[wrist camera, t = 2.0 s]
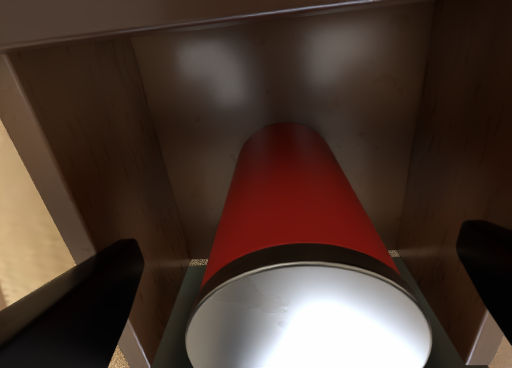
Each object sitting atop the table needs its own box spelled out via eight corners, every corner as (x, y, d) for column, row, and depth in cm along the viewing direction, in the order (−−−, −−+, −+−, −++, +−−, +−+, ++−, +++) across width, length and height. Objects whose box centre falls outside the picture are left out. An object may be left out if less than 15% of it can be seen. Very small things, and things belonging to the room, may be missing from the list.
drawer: (401, 321, 18) (470, 470, 12) (193, 326, 19) (156, 463, 13) (484, -97, 9) (984, -423, 3) (81, -37, 10) (-222, -161, 4)
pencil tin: (334, 209, 13) (413, 418, 6) (242, 214, 13) (208, 416, 6) (336, 116, 11) (460, 256, 4) (228, 125, 11) (155, 270, 4)
